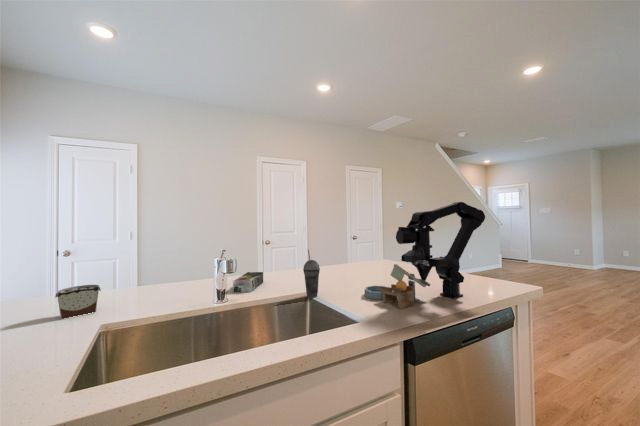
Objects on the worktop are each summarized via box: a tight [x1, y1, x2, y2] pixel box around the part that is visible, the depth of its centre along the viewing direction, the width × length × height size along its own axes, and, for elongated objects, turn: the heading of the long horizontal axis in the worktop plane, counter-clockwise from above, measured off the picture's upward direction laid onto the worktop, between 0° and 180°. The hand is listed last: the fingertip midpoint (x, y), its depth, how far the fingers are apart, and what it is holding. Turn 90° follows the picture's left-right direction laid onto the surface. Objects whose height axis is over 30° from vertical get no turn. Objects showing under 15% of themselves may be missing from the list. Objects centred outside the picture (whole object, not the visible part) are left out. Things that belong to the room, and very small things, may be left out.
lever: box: [390, 263, 431, 288], centre depth 104 cm, size 19×4×6 cm
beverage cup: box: [302, 249, 321, 299], centre depth 114 cm, size 7×7×20 cm
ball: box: [395, 280, 408, 292], centre depth 99 cm, size 4×4×4 cm
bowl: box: [364, 285, 386, 301], centre depth 112 cm, size 11×11×3 cm
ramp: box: [380, 284, 415, 309], centre depth 102 cm, size 7×11×7 cm, turn 27°
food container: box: [54, 284, 101, 320], centre depth 98 cm, size 12×6×10 cm, turn 135°
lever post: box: [407, 279, 421, 304], centre depth 104 cm, size 4×4×8 cm
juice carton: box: [232, 271, 264, 293], centre depth 132 cm, size 20×10×6 cm, turn 176°
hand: (423, 281), depth 107 cm, fingers closed, pressing on lever
